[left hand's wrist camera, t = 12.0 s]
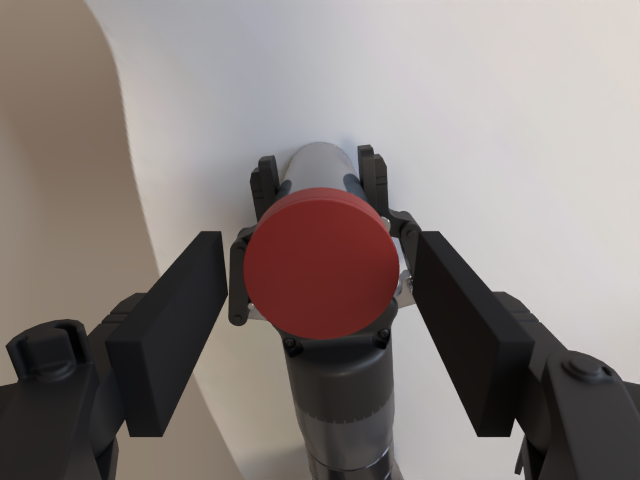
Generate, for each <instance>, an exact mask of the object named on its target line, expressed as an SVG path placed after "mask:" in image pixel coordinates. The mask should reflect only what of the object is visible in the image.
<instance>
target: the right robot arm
mask: <svg viewBox="0 0 640 480" xmlns="http://www.w3.org/2000/svg"><path fill="white" fill-rule="evenodd" d="M358 163H359V177H360V184H361V186H362V188H363V191H364V193H365V195H366V198H367V200H368V202H369V205H370V206H371V207H372V208H373V209H374V210H375V211H376V212H377V213H378V215H379V216H380V217H381V219H382V220H383V222H384V224H385V226H386V228H387V230H388V232H389V234H390V236H392V237H396V238H398V239H399V242H400V245H401V249H402V252H403V255H404V259H405V262H406V265H407V269H408V270H404V271H403V272H402V273H401V274H400V276H399V285H398V287H397V288H396V291H395V294H394V296H393V298H392V300H391V302H390V303H389V305H388V306H387V308H386V309H385V310H384V312H383V313H382V314H381V315H380V316H379V317H378V318H377V319H376V320H374V321H373V322H372V323H371V324H369V325H368V326H366V327H365V328H363V329H361V330H359V331H357V332H355V333H352V334H350V335H346V336H343V337H339V338H332V339H309V338H304V337H299V336H296V335H292V334H290V333H288V332H285V331H283V330H281V329H279V328H278V327H276V326H274V325H273V324H272V325H273V327H274V328H275V329H276V330H277V331H278V332H279V334H280V335H281V338H282V342H283V348H284V353H285V358H286V363H287V369H288V374H289V379H290V385H291V390H292V395H293V400H294V406H295V411H296V416H297V420H298V424H299V427H300V430H301V432H302V434H303V437H304V440H305V446H306V451H307V456H308V462H309V468H310V472H311V475H312V480H404V479H403V476H402V474H401V472H400V469H399V467H398V465H397V463H396V461H395V459H394V448H393V422H394V413H395V403H394V380H393V359H392V338H391V325H392V322H393V320H394V318H395V317H396V315H397V312H398V309H399V308H402V307H405V306H409V305H412V304H415V303H416V302H415V300H414V298H413V296H412V289H413V280H414V270H415V261H416V252H417V243H418V233H419V231H422V230H421V228H420V227H419V225H418V224H417V223H416V221H415V220H414V218H413V217H412V216H411V214H410V213H408V212H406V211H401V212H397V211H393V210H390V209H389V208H388V187H387V166H386V164H385V162H384V160H383V158H382V157H381V156H380V155H379V154H374V151H373V148H372V147H371V145H362V146H358ZM250 185H251V190H252V196H253V201H254V206H255V211H256V216H257V222H259V221H260V219H261V218H262V216H263V215H264V213H265V212H266V211H267V210H268V209H269V208H270V207H271V206H272V204H273V202H274V200H275V197H276V195H277V193H278V190H279V188H280V184H279V178H278V172H277V165H276V160H275V156H274V155H273V156H264V157H262V158H261V159H260V160H259V162H258V168H255V169H254V171H253V172H252V174H251V179H250ZM256 226H257V224H256V225H254V226H252V227H250V228H243V229H242V230H241V231H240V232H239V234H238V236H237V239H236V240H235V241H234V243H233V244H232V246H231V248H230V276H229V313H228V319H229V321H230V323H232V324H233V325H235V326H242V325H244V324H245V323H246V322H247V319H258V320H267V319H265V318H264V317H263V316H262V315H261V314H260V312H259V311H258V310H257V309H256V308H255V306H254V305H253V303H252V301H251V300H250V298H249V295H248V293H247V291H246V287H245V284H244V278H243V260H244V255H245V251H246V248H247V245H248V243H249V241H250V239H251V237H252V235H253V233H254V231H255V228H256ZM267 321H268V320H267Z"/></svg>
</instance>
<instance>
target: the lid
mask: <svg viewBox="0 0 640 480" xmlns="http://www.w3.org/2000/svg"><path fill="white" fill-rule="evenodd" d="M243 278H244V284H245V287H246V291H247V293H248V295H249V298H250V300H251V301H252V303H253V305H254V306H255V308H256V309H257V310H258V311H259V312H260V314H261V315H262V316H263V317H264V318H265V319H267V320H268V321H269V322H270V323H272V324H273V325H274V326H276V327H278V328H279V329H281V330H283V331H285V332H288V333H290V334H292V335H296V336H299V337H304V338H309V339H332V338H339V337H343V336H346V335H350V334H352V333H355V332H357V331H359V330H361V329H363V328H365V327H366V326H368V325H369V324H371V323H372V322H373V321H374V320H376V319H377V318H378V317H379V316H380V315H381V314H382V313H383V312H384V310H385V309H386V308H387V306H388V305H389V303H390V302H391V300H392V298H393V296H394V294H395V291H396V288H397V285H398V280H399V258H398V254H397V251H396V247H395V245H394V243H393V241H392V238H391V236H390V234H389V232H388V230H387V228H386V226H385V224H384V222H383V220H382V219H381V217H380V216H379V215H378V213H377V212H376V211H375V210H374V209H373V208H372V207H371V206H370V205H369V204H368V203H367V202H365V201H364V200H362V199H361V198H359V197H357V196H355V195H353V194H351V193H349V192H346V191H343V190H339V189H335V188H326V187H316V188H308V189H302V190H299V191H296V192H293V193H291V194H289V195H287V196H285V197H283V198H281V199H280V200H278V201H277V202H276V203H274V204H273V205H272V206H271V207H270V208H269V209H268V210H267V211H266V212H265V213H264V215H263V216H262V218H261V219H260V221H259V222H258V224H257V226H256V228H255V231H254V233H253V235H252V237H251V239H250V241H249V243H248V245H247V248H246V251H245V255H244V260H243Z"/></svg>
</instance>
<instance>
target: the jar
mask: <svg viewBox="0 0 640 480" xmlns="http://www.w3.org/2000/svg"><path fill="white" fill-rule="evenodd" d="M316 187H326V188H335V189H339V190H343V191H346V192H349V193H351V194H353V195H355V196H357V197H359V198H361V199H362V200H364V201H365V202H367V203H368V204H369V202H368V200H367V198H366V195H365V193H364V191H363V188H362V186H361V184H360V181H359V179H358V177H357V174H356V172H355V170H354V167H353V165H352V163H351V160H350V159H349V157H348V156H347V154H346V153H345V152H344V151H343V150H342V149H340V148H339V147H337V146H335V145H333V144H330V143H326V142H316V143H312V144H309V145H306V146H304V147H303V148H301V149H300V150H299V151H298V152H297V153H296V154H295V155H294V157H293V158H292V160H291V162H290V164H289V167H288V169H287V171H286V174H285V176H284V178H283V181H282V183H281V185H280V188H279V190H278V193H277V195H276V197H275V200H274V202H273V204H274V203H276V202H277V201H278V200H280V199H281V198H283V197H285V196H287V195H289V194H291V193H293V192H296V191H299V190H302V189H308V188H316ZM273 204H272V205H273Z"/></svg>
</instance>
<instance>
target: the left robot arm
mask: <svg viewBox="0 0 640 480" xmlns="http://www.w3.org/2000/svg"><path fill="white" fill-rule="evenodd" d="M227 296H228V289H227V280H226V270H225V261H224V252H223V243H222V233H221V231H201V232H200V233H199V234H198V235H197V237H196V238H195V239H194V240H193V241H192V242H191V243H190V245H189V246H188V247H187V248H186V249H185V250H184V251H183V253H182V254H181V255H180V256H179V257H178V258H177V259H176V261H175V262H174V263H173V264H172V265H171V266H170V267H169V268H168V270H167V271H166V272H165V273H164V274H163V275H162V276H161V278H160V279H159V280H158V281H157V282H156V283H155V284H154V286H153V287H152V288H151V289H150V290H149V291H148V292H147V293H135V294H133V295H132V296H130V297H128V298H126V299H125V300H123V301H121V302H120V303H119V304H118V305H117V306H116V307H115V308H114V309H113V310H112V311H111V312H110V315H107V316H106V317H105V318H104V320H102V323H101V324H99V325H98V326H97V327H96V328H95V329H94V330H93V331H92V332H91V333H90V334H89V335H88V336H87V335H86V331H85V328H84V325H83V324H82V323H81V322H79V321H77V320H70V319H64V320H54V321H50V322H47V323H43V324H39V325H37V326H34V327H32V328H30V329H27V330H25V331H24V332H22V333H20V334H19V335H17V336H15V337H14V338H13V339H12V340H11V341H10V342H9V343H8V344H7V345H6V349H7V351H8V354H9V356H10V359H11V361H12V364H13V366H14V369H15V371H16V374H17V376H18V379H19V380H18V382H17V383H14V384H9V385H4V386H0V480H115V476H116V468H117V460H118V452H119V449H118V442H117V438H116V433H117V432H118V430H119V429H120V427H121V425H122V424H123V422H124V420H126V424H127V427H128V431H129V435H130V437H162V436H163V434H164V432H165V430H166V428H167V426H168V423H169V421H170V419H171V417H172V415H173V413H174V410H175V408H176V406H177V404H178V402H179V399H180V397H181V395H182V393H183V391H184V389H185V387H186V384H187V382H188V380H189V378H190V376H191V374H192V372H193V369H194V367H195V365H196V363H197V361H198V359H199V356H200V354H201V352H202V350H203V348H204V346H205V343H206V341H207V339H208V337H209V335H210V333H211V330H212V328H213V326H214V324H215V322H216V320H217V317H218V315H219V313H220V311H221V309H222V307H223V304H224V302H225V300H226V298H227ZM412 296H413V298H414V300H415V302H416V304H417V307H418V309H419V311H420V313H421V315H422V317H423V320H424V322H425V324H426V326H427V328H428V330H429V333H430V335H431V337H432V339H433V341H434V343H435V346H436V348H437V350H438V352H439V354H440V356H441V359H442V361H443V363H444V365H445V367H446V369H447V372H448V374H449V376H450V378H451V380H452V382H453V384H454V387H455V389H456V391H457V393H458V395H459V397H460V400H461V402H462V404H463V406H464V408H465V410H466V413H467V415H468V417H469V419H470V421H471V423H472V426H473V428H474V430H475V432H476V434H477V436H478V437H510V435H511V431H512V427H513V424H514V420H515V418H516V420H517V422H518V423H519V425H520V427H521V428H522V430H523V431H524V433H525V435H524V438H523V442H522V445H521V449H520V452H519V456H518V459H517V463H516V467H515V474H518V475H520V473H521V470H522V467H524V474H525V480H640V385H639V384H634V383H630V382H625V381H622V379H621V378H620V376H619V375H618V374H617V373H616V372H615V370H614V369H612V368H611V367H609V366H608V365H607V364H605V363H604V362H602V361H600V360H598V359H596V358H594V357H592V356H590V355H587V354H584V353H580V352H577V351H570V350H567V349H566V348H565V346H564V345H563V344H562V343H561V342H560V341H559V340H558V339H557V338H556V337H555V336H554V335H553V334H552V333H551V332H550V331H549V330H548V329H547V328H546V327H545V326H544V325H543V324H542V323H541V322H539V320H538V319H537V318H536V317H535V316H534V315H533V314H532V313H530V311H529V310H528V309H527V308H526V306H525V305H524V304H523V303H522V302H521V301H519V300H518V299H516V298H514V297H513V296H511V295H509V294H507V293H506V292H492V291H491V290H490V289H489V288H488V287H487V286H486V284H485V283H484V282H483V281H482V280H481V279H480V278H479V276H478V275H477V274H476V273H475V272H474V271H473V270H472V268H471V267H470V266H469V265H468V264H467V263H466V262H465V261H464V259H463V258H462V257H461V256H460V255H459V254H458V253H457V251H456V250H455V249H454V248H453V247H452V246H451V245H450V243H449V242H448V241H447V240H446V239H445V238H444V237H443V235H442V234H441V233H440V232H439V231H419V233H418V243H417V252H416V261H415V270H414V280H413V289H412Z"/></svg>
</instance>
